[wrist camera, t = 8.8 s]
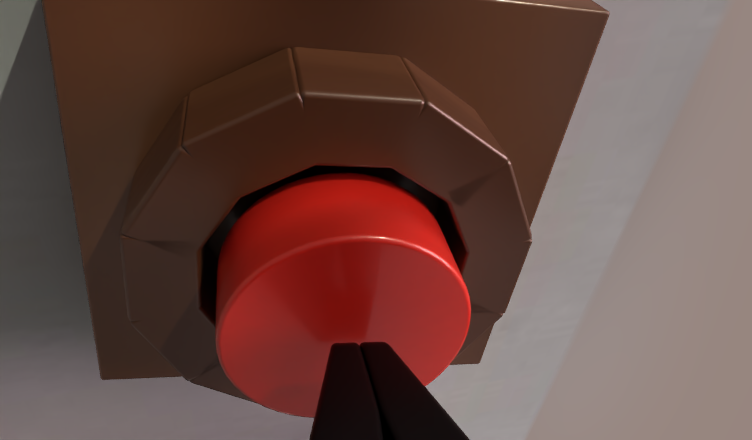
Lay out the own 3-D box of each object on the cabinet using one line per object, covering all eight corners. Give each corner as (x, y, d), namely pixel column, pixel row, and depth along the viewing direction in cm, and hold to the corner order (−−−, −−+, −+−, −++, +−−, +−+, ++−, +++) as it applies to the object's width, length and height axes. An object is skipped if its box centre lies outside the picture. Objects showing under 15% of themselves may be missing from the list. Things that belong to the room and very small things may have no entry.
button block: (558, -23, 12) (671, 50, 9) (455, 304, 17) (504, 424, 14) (67, -85, 10) (-10, -17, 7) (115, 310, 15) (84, 453, 12)
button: (466, 174, 10) (502, 239, 9) (419, 341, 12) (442, 412, 11) (217, 165, 9) (214, 235, 8) (216, 347, 11) (214, 427, 10)
